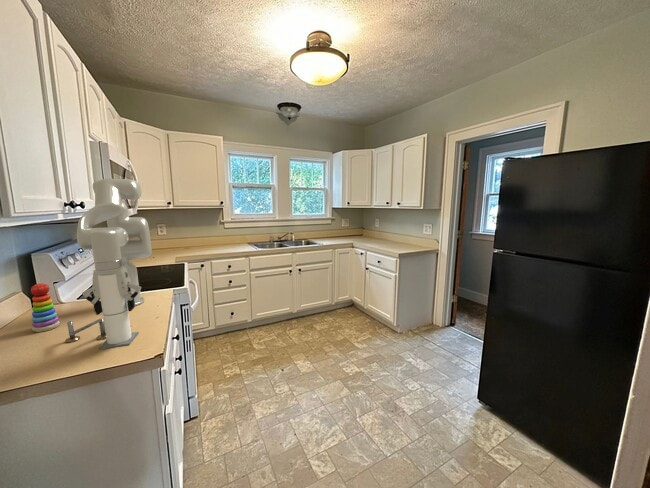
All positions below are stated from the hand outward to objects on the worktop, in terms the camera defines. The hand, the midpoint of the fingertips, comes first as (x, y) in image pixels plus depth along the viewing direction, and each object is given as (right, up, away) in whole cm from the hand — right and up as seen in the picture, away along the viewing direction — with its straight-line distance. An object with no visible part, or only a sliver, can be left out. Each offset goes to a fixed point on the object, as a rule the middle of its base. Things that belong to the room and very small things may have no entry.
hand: (115, 311), depth 97 cm
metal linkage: (-12, -12, 0) cm, 17 cm away
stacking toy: (-38, -10, +12) cm, 41 cm away
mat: (0, -11, +2) cm, 11 cm away
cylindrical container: (0, -11, +2) cm, 11 cm away
